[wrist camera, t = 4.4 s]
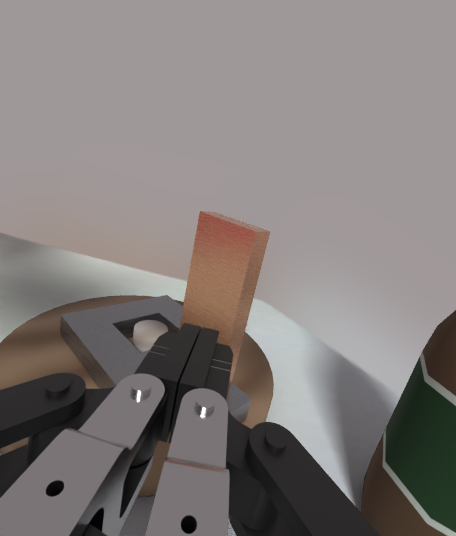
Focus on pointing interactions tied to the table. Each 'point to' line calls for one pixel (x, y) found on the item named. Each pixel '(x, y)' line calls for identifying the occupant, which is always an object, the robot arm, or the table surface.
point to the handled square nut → (180, 307)
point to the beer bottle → (419, 449)
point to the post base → (60, 358)
